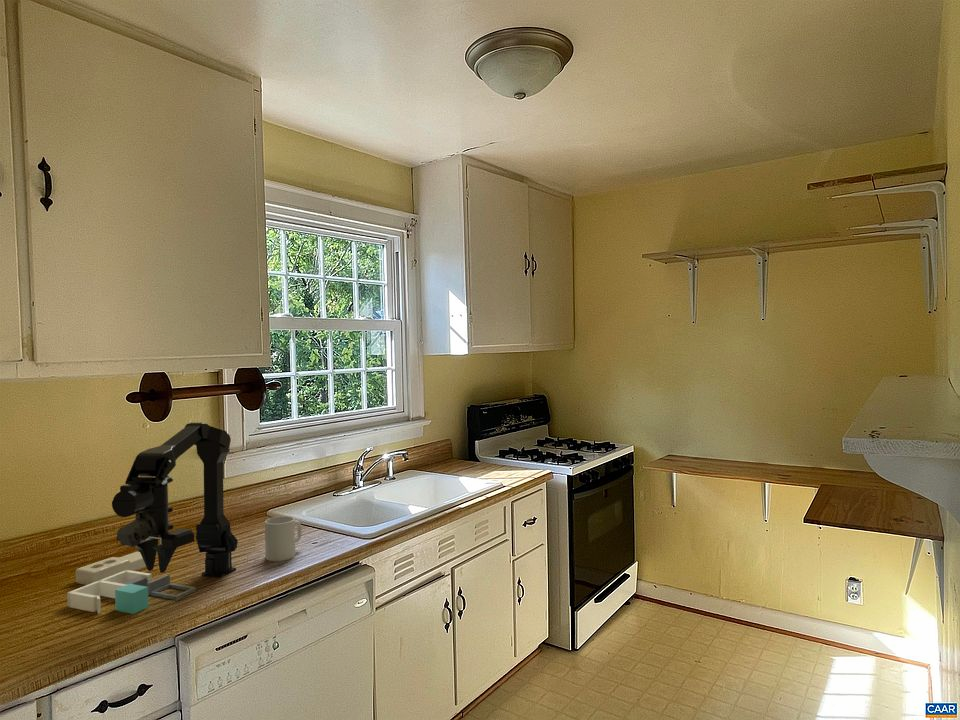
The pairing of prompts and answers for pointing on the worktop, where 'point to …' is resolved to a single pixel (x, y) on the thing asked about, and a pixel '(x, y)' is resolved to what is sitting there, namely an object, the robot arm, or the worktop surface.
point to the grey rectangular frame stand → (164, 583)
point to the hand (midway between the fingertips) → (156, 571)
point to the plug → (131, 598)
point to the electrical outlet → (109, 568)
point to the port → (104, 589)
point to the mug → (281, 538)
